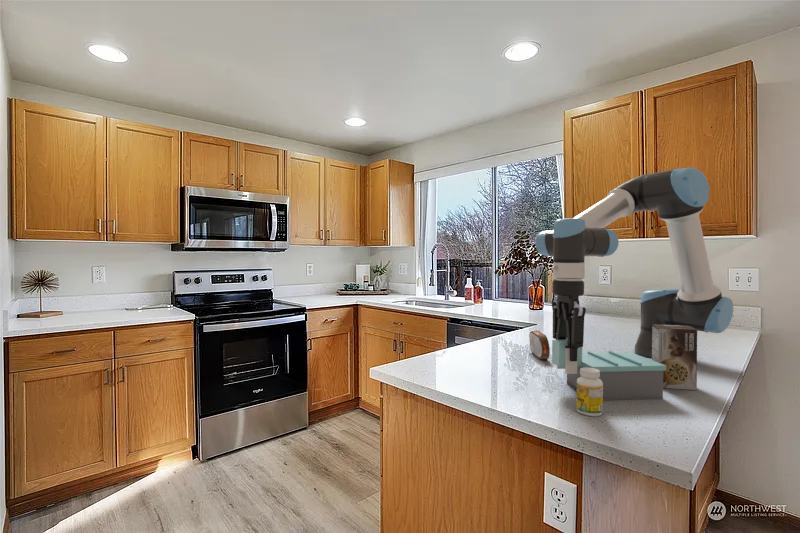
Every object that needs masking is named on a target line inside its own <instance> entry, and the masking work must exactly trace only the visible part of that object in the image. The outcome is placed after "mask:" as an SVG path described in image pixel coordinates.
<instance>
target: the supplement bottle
mask: <svg viewBox="0 0 800 533" xmlns="http://www.w3.org/2000/svg"><path fill="white" fill-rule="evenodd" d="M580 375H581V377H579V378H578V379H577V390H576V402H575V403H576V406H575V407H576V411H577V413H579V414H580V415H583V416H587V417H600V416H602V415H603V412H604V409H603V406H604V403H603V402H604V400H603V382H602V381H601V380H600V379H598V378H599V377H600V371H599V370H598V369H594V368H581V369H580Z"/></svg>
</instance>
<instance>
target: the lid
mask: <svg viewBox="0 0 800 533" xmlns="http://www.w3.org/2000/svg"><path fill="white" fill-rule="evenodd" d="M551 343H552V344H551V363H552V364H553V365H555V366H556V367H557V366H558V367H565V360H566V348H565V346H568V344H567V340H556V339H552V340H551ZM578 366H582V367H584V368H594V369H598V370H599V371H600V372H612V371H664V370H666V365H663V364H661V363H658V362H655V361H653V360H652V359H649V358H648V357H647V358H646V356H642V355H639V354H637V353H635V352H634V353H633V352H629V351H628V352H615V351H612V350H608V352H593V351H591V350H587V352H583V347H579V348H578V349H577V367H578Z"/></svg>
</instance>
